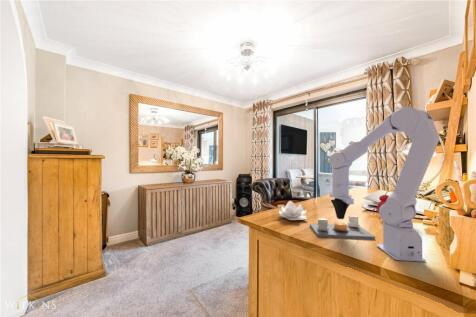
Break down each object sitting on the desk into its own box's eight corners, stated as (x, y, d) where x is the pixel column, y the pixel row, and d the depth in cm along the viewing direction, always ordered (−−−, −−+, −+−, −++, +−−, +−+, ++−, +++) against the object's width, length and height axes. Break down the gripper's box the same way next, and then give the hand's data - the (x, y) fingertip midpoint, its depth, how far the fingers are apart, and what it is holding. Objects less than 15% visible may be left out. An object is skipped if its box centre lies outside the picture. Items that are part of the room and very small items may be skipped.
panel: (375, 240, 70) (375, 236, 70) (317, 237, 73) (317, 233, 73) (358, 228, 82) (358, 225, 82) (309, 226, 85) (309, 223, 85)
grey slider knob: (328, 230, 75) (328, 220, 75) (318, 230, 75) (318, 220, 75) (326, 228, 77) (326, 218, 77) (317, 228, 78) (317, 218, 78)
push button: (348, 230, 74) (348, 226, 74) (336, 230, 75) (336, 225, 75) (344, 227, 78) (344, 222, 78) (332, 226, 79) (332, 222, 79)
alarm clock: (398, 220, 93) (398, 189, 93) (407, 224, 87) (407, 191, 87) (374, 219, 95) (374, 188, 95) (381, 223, 89) (381, 190, 89)
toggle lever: (359, 227, 79) (359, 217, 79) (350, 226, 80) (350, 216, 80) (356, 225, 82) (356, 215, 82) (347, 224, 82) (347, 215, 82)
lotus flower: (308, 216, 100) (308, 199, 100) (307, 225, 86) (307, 206, 86) (280, 213, 105) (280, 197, 105) (274, 221, 91) (274, 203, 91)
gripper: (362, 186, 69) (362, 224, 69) (341, 181, 84) (340, 213, 84) (342, 186, 69) (342, 224, 69) (324, 181, 84) (324, 213, 84)
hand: (340, 218), depth 77 cm, fingers closed
